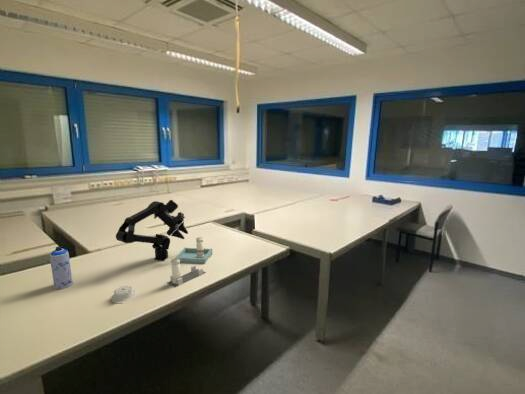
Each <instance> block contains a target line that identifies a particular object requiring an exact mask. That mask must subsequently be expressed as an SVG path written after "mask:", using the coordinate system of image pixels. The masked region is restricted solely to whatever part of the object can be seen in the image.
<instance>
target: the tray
mask: <svg viewBox="0 0 525 394" xmlns="http://www.w3.org/2000/svg"><path fill="white" fill-rule="evenodd" d="M203 250H204V251H203V252H204V257H203V258H197V247H183V249H182V250H181V251H180V252H178V254H177V255H176V256H175V257H174V259H175V258H178V259H180V263H185V264H186V263H187V264H188V263H189V264H206V263H207V262H208V261H209V259H210V258H211V257H212V255H213V248H203Z"/></svg>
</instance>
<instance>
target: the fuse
mask: <svg viewBox="0 0 525 394" xmlns="http://www.w3.org/2000/svg"><path fill="white" fill-rule="evenodd" d="M170 263H171V275H172V283H173V284H177V279H179V278H181V276H182V275H181V262H180V259H178V258H175V257H174V258H172V259H171V260H170Z"/></svg>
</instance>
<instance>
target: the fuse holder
mask: <svg viewBox="0 0 525 394" xmlns="http://www.w3.org/2000/svg"><path fill="white" fill-rule="evenodd" d="M206 273H207V272H206V271H204V269H203V268H197V266H196V265H192V266H191V267H190V272H187V273H185V274H183V275H180V276H181V278H179V279H177V284H173V283H172V274H171V275H170V281H167V282H166V284H168V285H169V286H171V287H173V288H177V287H179V286H181V285H184V284H185V283H187V282H189V281H192V280H194V279H196V278H198V277H201V276H202V275H205V274H206Z"/></svg>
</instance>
